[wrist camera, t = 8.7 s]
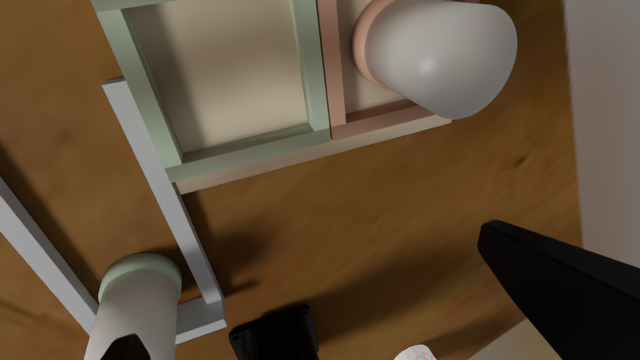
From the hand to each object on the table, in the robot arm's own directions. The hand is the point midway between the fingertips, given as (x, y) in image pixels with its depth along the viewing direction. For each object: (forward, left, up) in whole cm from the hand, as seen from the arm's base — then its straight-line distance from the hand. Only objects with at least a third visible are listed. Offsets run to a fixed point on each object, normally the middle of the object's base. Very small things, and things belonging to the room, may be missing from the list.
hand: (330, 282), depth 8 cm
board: (+3, -3, -12) cm, 13 cm away
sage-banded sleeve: (-9, +9, -12) cm, 17 cm away
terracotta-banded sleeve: (+3, -7, -11) cm, 13 cm away
